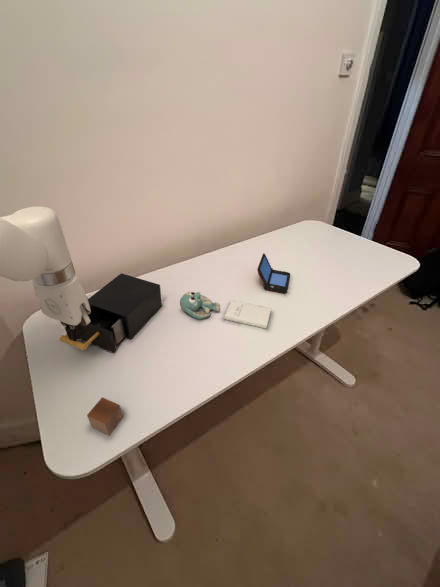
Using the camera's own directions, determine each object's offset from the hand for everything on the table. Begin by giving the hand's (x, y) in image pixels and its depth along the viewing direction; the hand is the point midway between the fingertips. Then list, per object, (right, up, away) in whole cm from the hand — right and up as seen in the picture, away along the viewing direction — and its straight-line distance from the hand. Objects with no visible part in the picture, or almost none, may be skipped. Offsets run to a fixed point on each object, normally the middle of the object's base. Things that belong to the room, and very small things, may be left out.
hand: (77, 336), depth 71 cm
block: (+10, -16, -9) cm, 21 cm away
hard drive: (+42, +3, +20) cm, 46 cm away
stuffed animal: (+27, +5, +21) cm, 35 cm away
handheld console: (+52, +14, +35) cm, 64 cm away
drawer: (+3, -1, +10) cm, 10 cm away
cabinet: (+6, +4, +17) cm, 19 cm away
